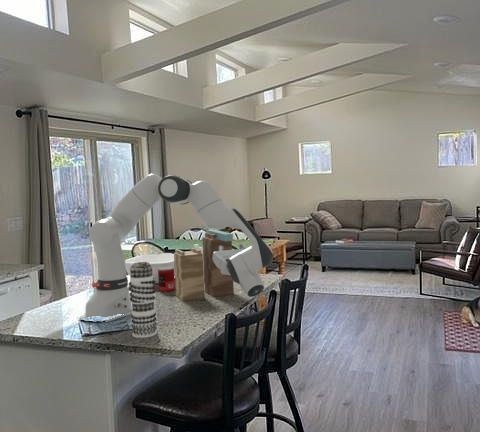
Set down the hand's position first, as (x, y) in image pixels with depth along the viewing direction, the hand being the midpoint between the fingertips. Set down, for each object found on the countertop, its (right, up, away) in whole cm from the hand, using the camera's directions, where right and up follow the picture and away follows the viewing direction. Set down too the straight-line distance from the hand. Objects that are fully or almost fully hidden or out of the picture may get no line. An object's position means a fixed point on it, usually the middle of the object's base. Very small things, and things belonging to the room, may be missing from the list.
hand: (230, 246), depth 217 cm
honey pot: (-17, -21, +59) cm, 65 cm away
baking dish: (-41, -22, +53) cm, 71 cm away
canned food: (-32, -23, +29) cm, 49 cm away
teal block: (-6, +3, +14) cm, 15 cm away
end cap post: (-6, -23, +18) cm, 30 cm away
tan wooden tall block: (-19, -24, +13) cm, 33 cm away
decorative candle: (-29, -28, -41) cm, 58 cm away
